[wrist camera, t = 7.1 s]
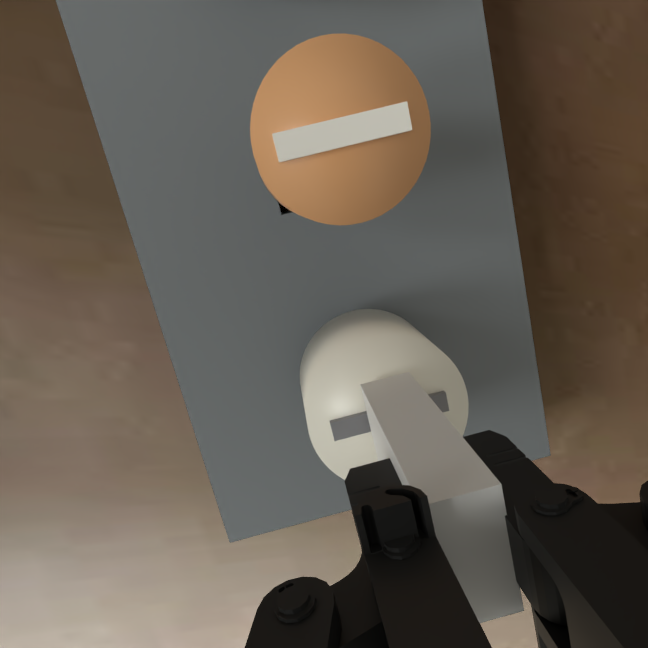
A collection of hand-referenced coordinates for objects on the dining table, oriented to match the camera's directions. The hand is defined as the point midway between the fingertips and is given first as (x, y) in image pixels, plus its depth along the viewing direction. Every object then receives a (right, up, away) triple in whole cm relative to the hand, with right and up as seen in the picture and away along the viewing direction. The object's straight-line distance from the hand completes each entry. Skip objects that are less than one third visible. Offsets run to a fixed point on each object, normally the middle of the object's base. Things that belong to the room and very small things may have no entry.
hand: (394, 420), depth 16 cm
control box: (-3, +10, +7) cm, 12 cm away
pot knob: (-2, +9, +3) cm, 10 cm away
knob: (-1, +2, +8) cm, 8 cm away
